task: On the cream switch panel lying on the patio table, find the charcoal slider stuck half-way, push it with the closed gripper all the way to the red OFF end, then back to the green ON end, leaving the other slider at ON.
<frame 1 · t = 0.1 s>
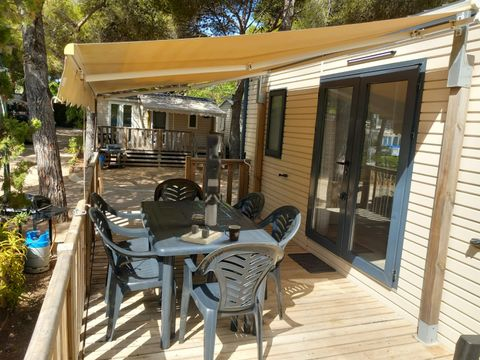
hand: (212, 207, 280), 22 cm above the table, tool pointing down, fingers open, 8 cm apart
tripped slider: (195, 229, 280), point 6 cm above the table, slide at 6.0 cm
coffee mug: (231, 240, 277), on the table
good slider: (205, 233, 270), point 6 cm above the table, slide at 12.0 cm
switch panel: (201, 238, 278), on the table
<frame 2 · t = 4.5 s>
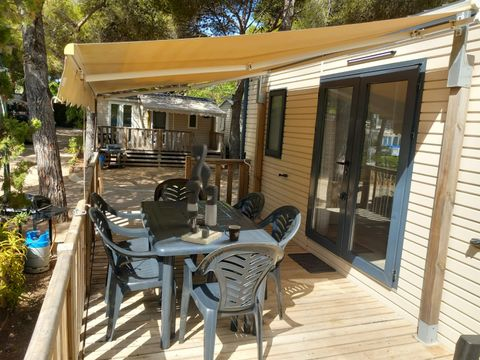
hand: (192, 232, 277), 4 cm above the table, tool pointing down, fingers closed
tripped slider: (195, 228, 281), point 6 cm above the table, slide at 5.4 cm, touching gripper
everything else where it was.
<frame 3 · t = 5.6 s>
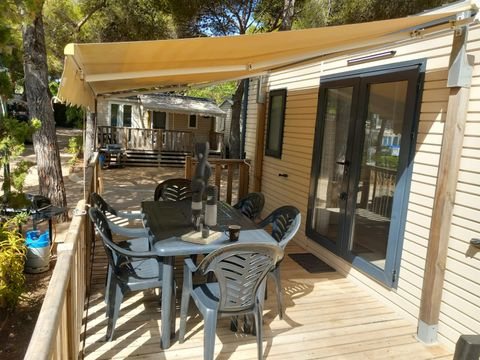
hand: (195, 230, 281), 4 cm above the table, tool pointing down, fingers closed
tripped slider: (199, 227, 286), point 6 cm above the table, slide at -0.1 cm, touching gripper
everything else where it was.
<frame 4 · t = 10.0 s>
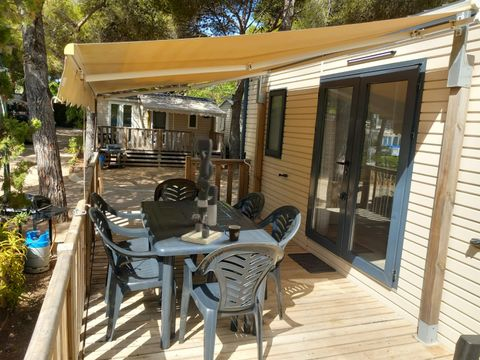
hand: (201, 227, 289), 5 cm above the table, tool pointing down, fingers closed
tripped slider: (198, 227, 285), point 6 cm above the table, slide at 0.4 cm, touching gripper
everything else where it was.
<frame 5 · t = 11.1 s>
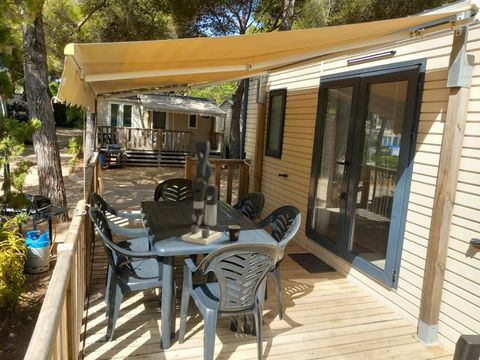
hand: (197, 229, 284), 5 cm above the table, tool pointing down, fingers closed
tripped slider: (194, 229, 279), point 6 cm above the table, slide at 6.6 cm, touching gripper
everything else where it was.
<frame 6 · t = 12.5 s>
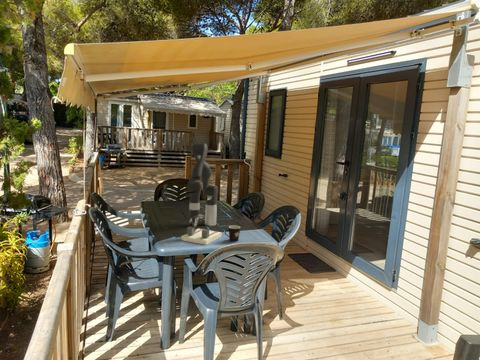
hand: (193, 231, 279), 5 cm above the table, tool pointing down, fingers closed
tripped slider: (190, 231, 274), point 6 cm above the table, slide at 12.2 cm, touching gripper
everything else where it was.
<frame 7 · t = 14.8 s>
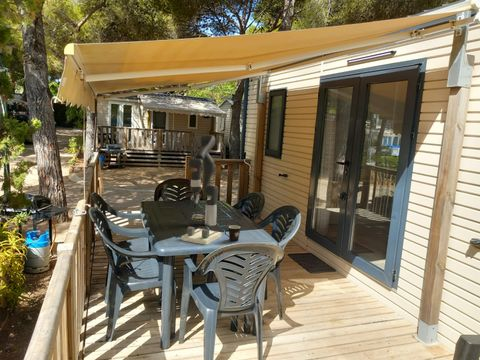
hand: (195, 208, 284), 21 cm above the table, tool pointing down, fingers closed
tripped slider: (190, 230, 274), point 6 cm above the table, slide at 12.1 cm
everything else where it was.
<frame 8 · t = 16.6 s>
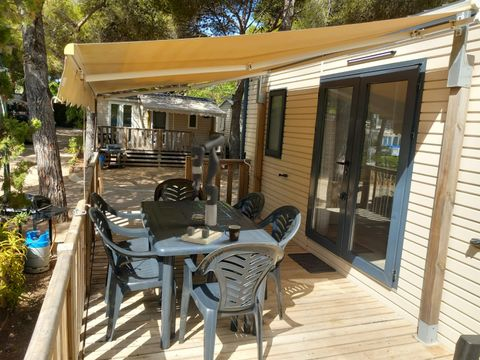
hand: (196, 194, 291), 29 cm above the table, tool pointing down, fingers closed
nothing on the table moved.
at the end: tripped slider slide at 12.1 cm; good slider slide at 12.0 cm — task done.
